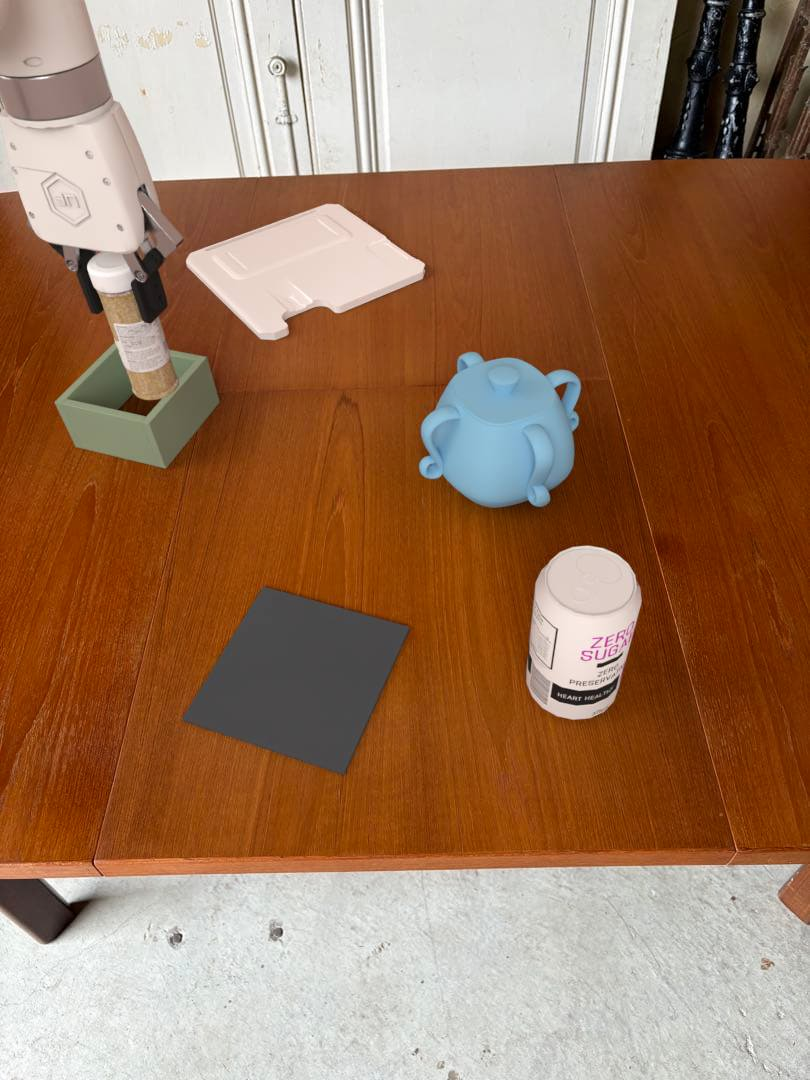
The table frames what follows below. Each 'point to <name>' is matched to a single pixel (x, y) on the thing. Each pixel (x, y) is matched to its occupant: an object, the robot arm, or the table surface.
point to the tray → (303, 268)
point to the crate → (131, 435)
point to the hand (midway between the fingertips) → (129, 308)
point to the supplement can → (581, 631)
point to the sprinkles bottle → (133, 329)
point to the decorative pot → (502, 431)
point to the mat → (299, 679)
